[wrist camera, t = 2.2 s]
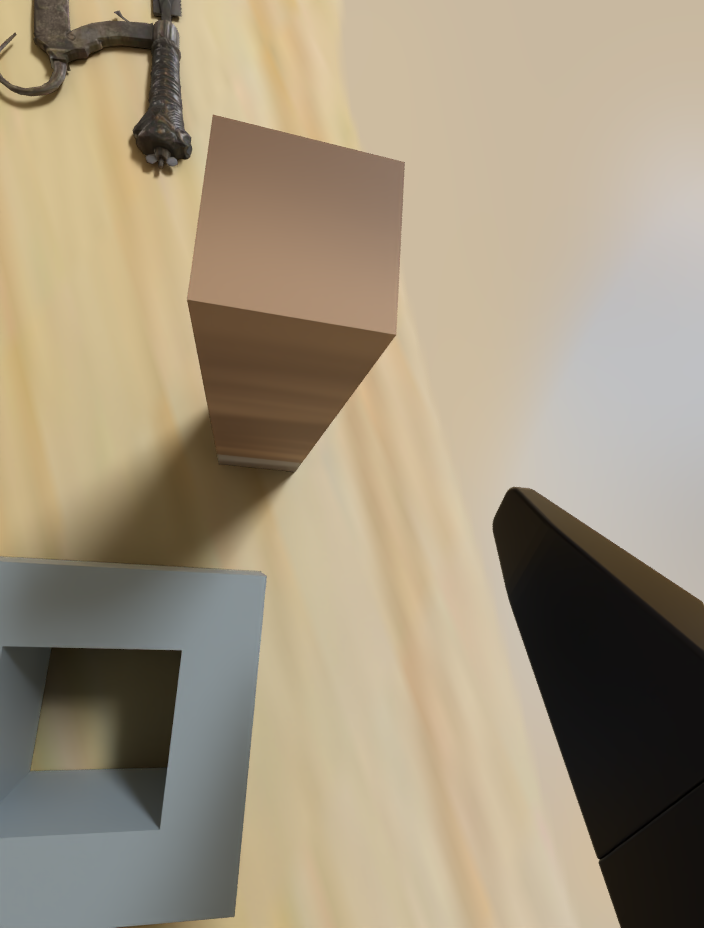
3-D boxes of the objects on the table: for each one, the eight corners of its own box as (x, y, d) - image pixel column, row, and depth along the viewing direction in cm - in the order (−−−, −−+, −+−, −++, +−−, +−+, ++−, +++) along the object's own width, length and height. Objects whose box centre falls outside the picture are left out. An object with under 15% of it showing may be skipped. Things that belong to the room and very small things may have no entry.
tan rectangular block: (295, 471, 20) (396, 335, 7) (218, 464, 19) (187, 300, 7) (301, 401, 20) (404, 162, 8) (227, 391, 20) (213, 115, 7)
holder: (234, 834, 17) (234, 917, 13) (-63, 851, 15) (-164, 952, 11) (260, 571, 19) (266, 576, 15) (-4, 556, 17) (-74, 557, 13)
